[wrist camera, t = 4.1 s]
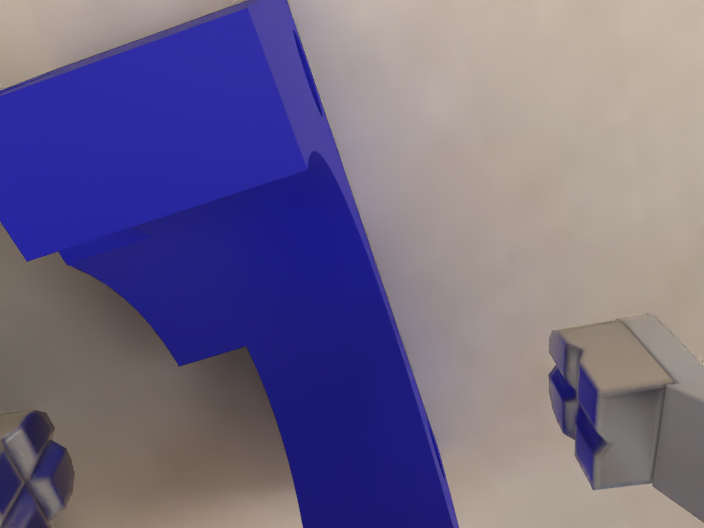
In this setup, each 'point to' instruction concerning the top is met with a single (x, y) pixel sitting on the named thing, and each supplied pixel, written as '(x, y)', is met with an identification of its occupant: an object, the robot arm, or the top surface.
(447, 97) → the top surface
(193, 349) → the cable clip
